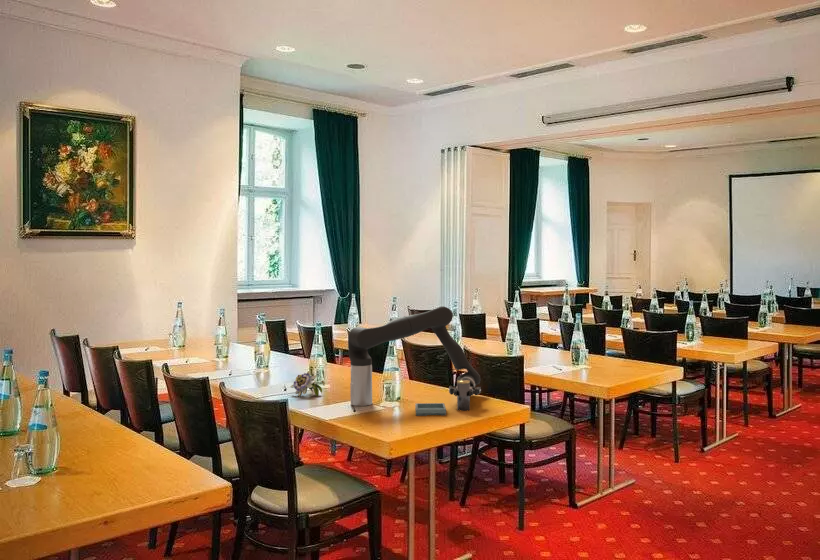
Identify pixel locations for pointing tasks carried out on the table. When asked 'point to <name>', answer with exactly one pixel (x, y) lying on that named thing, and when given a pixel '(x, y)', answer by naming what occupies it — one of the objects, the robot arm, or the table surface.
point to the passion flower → (306, 384)
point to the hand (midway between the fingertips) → (463, 393)
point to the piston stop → (463, 395)
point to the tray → (430, 409)
